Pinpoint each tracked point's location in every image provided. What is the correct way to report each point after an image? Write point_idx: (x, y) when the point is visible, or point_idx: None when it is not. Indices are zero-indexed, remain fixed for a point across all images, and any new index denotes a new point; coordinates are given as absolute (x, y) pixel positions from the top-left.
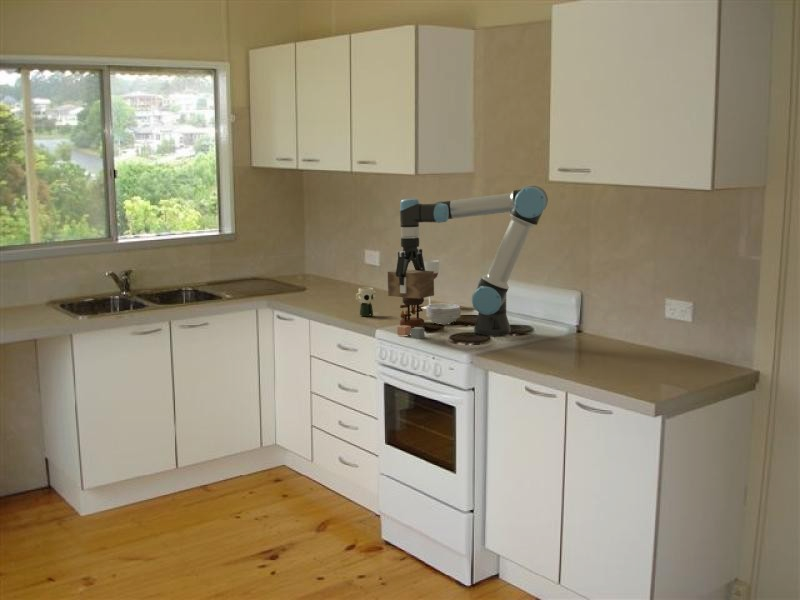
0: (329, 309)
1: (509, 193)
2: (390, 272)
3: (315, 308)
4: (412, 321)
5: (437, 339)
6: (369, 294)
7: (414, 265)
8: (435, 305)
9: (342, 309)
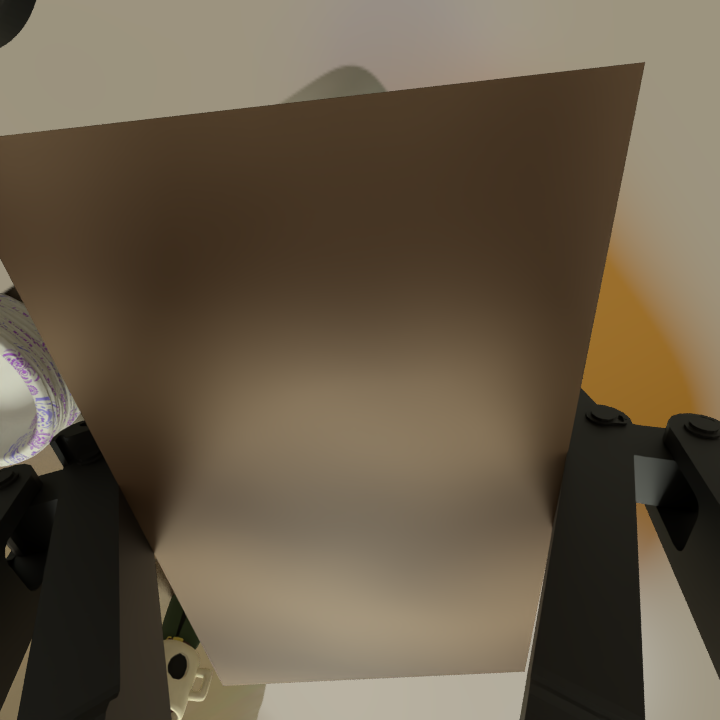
0: (210, 695)
1: None
2: (525, 639)
3: (229, 716)
4: None
5: (328, 81)
6: None
7: (155, 626)
8: None
9: None
